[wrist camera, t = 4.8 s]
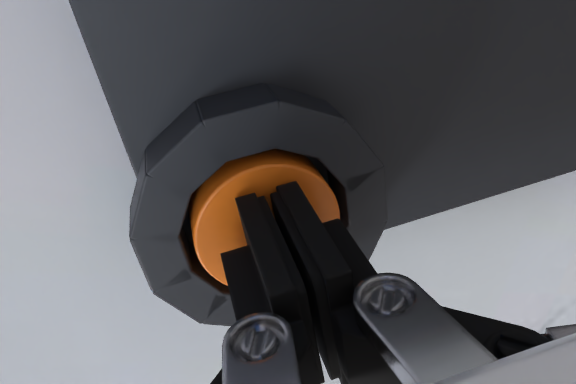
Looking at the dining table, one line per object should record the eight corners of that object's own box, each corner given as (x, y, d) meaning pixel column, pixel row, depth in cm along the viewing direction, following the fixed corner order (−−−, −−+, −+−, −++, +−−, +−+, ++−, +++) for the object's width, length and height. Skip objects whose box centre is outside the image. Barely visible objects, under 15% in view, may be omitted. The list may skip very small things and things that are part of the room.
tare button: (208, 276, 15) (215, 310, 13) (170, 162, 13) (174, 190, 11) (330, 238, 15) (348, 267, 14) (312, 124, 13) (331, 146, 12)
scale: (172, 291, 17) (178, 356, 14) (-59, -294, 9) (-137, -382, 6) (581, 165, 19) (649, 202, 16) (675, -385, 11) (829, -476, 9)
